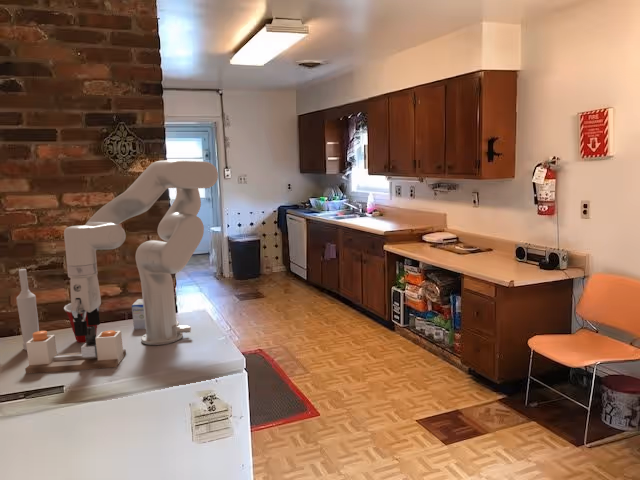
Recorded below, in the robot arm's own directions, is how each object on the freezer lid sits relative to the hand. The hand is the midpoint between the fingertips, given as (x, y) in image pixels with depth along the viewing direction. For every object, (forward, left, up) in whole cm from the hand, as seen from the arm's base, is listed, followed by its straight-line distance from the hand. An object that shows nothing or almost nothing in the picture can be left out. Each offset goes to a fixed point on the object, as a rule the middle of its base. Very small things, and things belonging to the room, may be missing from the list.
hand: (88, 330), depth 148 cm
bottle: (+24, -17, -10) cm, 31 cm away
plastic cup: (+9, -21, -10) cm, 25 cm away
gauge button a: (-5, 0, -3) cm, 6 cm away
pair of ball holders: (+4, 0, -10) cm, 11 cm away
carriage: (0, 0, -7) cm, 7 cm away
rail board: (+4, 0, -10) cm, 11 cm away
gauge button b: (+13, 0, -2) cm, 14 cm away
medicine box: (-6, -33, -10) cm, 35 cm away
